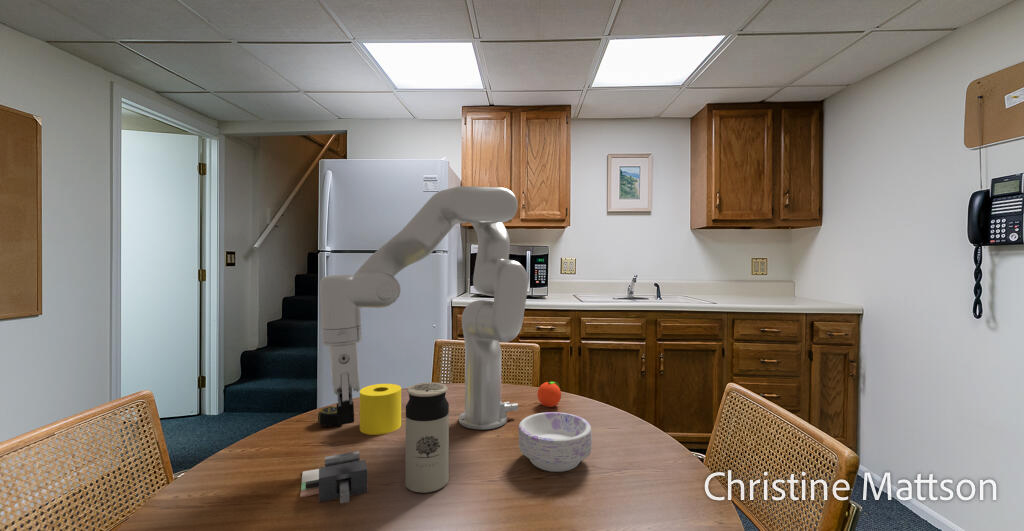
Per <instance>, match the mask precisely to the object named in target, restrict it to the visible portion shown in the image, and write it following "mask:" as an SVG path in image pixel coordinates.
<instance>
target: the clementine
mask: <svg viewBox="0 0 1024 531" xmlns="http://www.w3.org/2000/svg"><path fill="white" fill-rule="evenodd" d="M560 388H561V387H560V385H559V383H558V382H555V381H546V382H544V383H542V384H540V386H539V387H538V389H537V393H536V394H537V398H538V401H539V403H540V404H541V405H542V406H544V407H548V408H551V407H555V406H557V405H558V404H559V402H560V401H561V398H562V391H561V389H560Z"/></svg>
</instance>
